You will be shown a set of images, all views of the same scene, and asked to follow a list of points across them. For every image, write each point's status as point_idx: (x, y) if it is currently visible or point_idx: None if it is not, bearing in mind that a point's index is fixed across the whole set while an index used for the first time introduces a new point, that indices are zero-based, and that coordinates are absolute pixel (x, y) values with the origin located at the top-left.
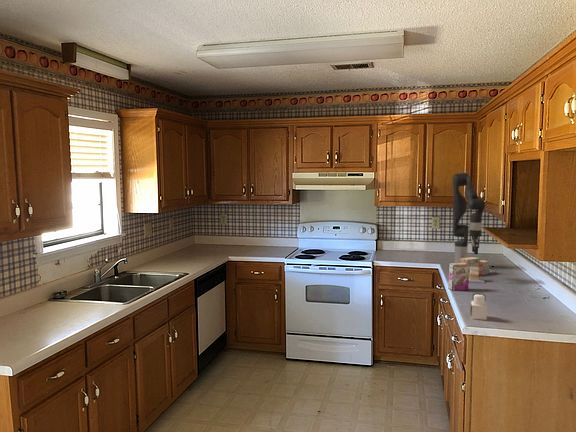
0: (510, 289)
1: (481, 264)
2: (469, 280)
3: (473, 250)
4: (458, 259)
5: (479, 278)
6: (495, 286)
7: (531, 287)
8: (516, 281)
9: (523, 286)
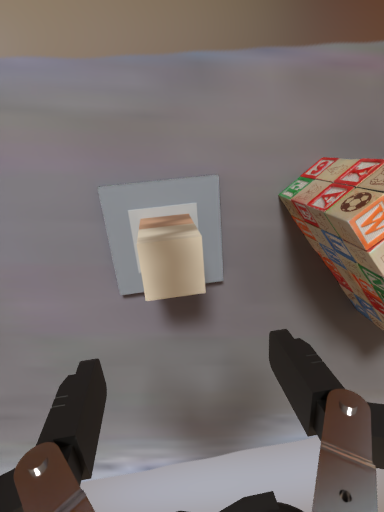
0: (28, 390)
1: (379, 307)
2: (124, 212)
3: (278, 356)
4: None
5: (204, 269)
6: (65, 335)
7: (114, 449)
8: (215, 406)
9: (121, 428)
